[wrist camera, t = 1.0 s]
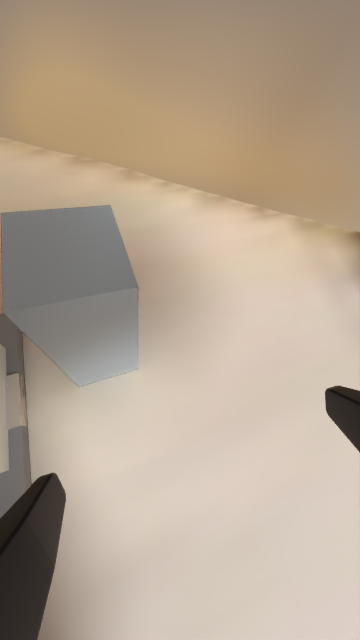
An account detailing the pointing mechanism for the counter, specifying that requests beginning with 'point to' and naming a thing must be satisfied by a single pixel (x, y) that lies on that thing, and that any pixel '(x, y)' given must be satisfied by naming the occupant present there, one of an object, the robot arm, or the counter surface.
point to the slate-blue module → (72, 289)
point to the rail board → (12, 417)
